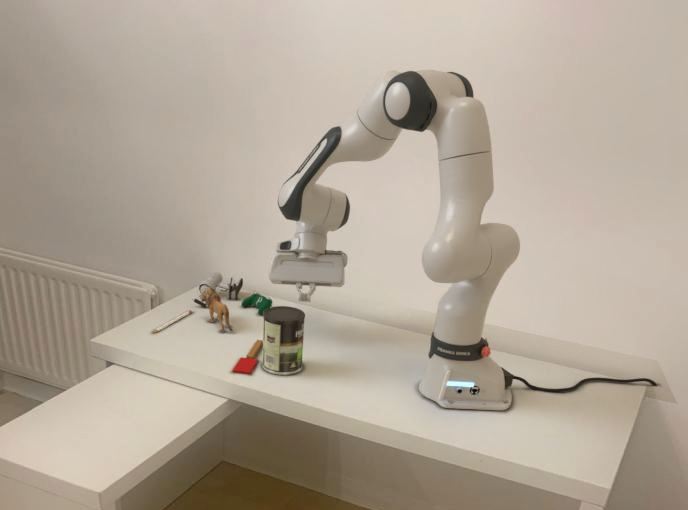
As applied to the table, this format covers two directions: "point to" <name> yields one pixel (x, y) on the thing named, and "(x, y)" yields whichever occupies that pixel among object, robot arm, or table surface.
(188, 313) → the pencil
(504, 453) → the table surface
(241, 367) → the spatula
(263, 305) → the gaming controller
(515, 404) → the table surface
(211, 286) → the clip-on lamp
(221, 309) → the lion figurine
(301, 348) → the coffee can
